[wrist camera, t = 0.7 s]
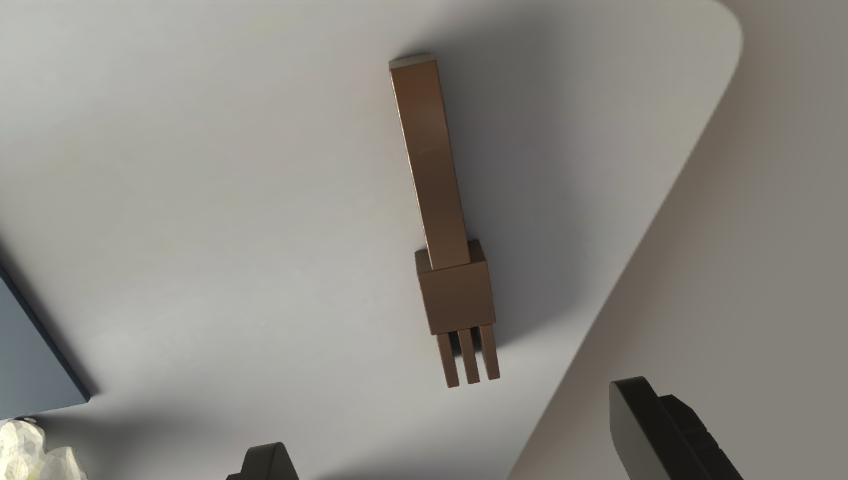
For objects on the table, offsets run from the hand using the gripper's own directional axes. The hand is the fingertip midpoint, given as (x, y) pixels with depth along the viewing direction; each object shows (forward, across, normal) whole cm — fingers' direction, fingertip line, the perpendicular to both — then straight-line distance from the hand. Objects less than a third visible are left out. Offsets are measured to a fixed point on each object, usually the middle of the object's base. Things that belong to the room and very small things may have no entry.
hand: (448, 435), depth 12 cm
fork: (+16, -1, +1) cm, 16 cm away
